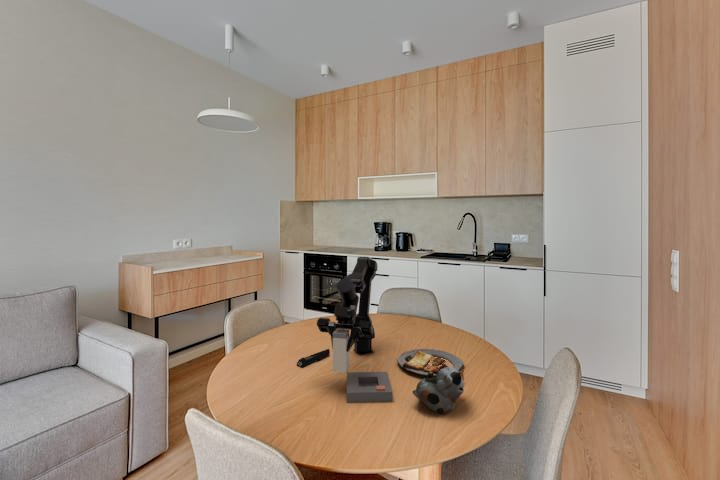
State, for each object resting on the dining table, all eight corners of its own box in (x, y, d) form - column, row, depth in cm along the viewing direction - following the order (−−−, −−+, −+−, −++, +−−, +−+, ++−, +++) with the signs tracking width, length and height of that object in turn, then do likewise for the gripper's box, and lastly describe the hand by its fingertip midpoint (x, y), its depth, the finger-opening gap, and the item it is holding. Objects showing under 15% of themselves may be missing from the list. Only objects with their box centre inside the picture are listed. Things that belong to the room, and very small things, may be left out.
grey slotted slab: (346, 380, 118) (346, 370, 118) (387, 380, 119) (387, 369, 118) (346, 402, 104) (346, 390, 104) (392, 401, 105) (392, 390, 104)
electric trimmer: (332, 357, 140) (332, 349, 139) (302, 369, 128) (302, 360, 128) (325, 354, 142) (325, 347, 142) (295, 366, 130) (295, 358, 130)
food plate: (449, 386, 114) (449, 376, 113) (387, 371, 126) (387, 361, 126) (469, 362, 135) (469, 353, 135) (414, 350, 147) (414, 342, 147)
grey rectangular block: (336, 365, 114) (336, 328, 114) (349, 366, 113) (349, 329, 113) (332, 371, 110) (332, 333, 109) (346, 372, 109) (345, 334, 108)
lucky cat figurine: (423, 388, 113) (444, 351, 112) (454, 413, 106) (477, 375, 105) (405, 394, 100) (428, 353, 100) (439, 423, 94) (464, 380, 93)
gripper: (318, 294, 116) (306, 337, 106) (371, 297, 112) (364, 342, 102) (325, 311, 124) (315, 352, 114) (376, 314, 120) (369, 357, 110)
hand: (340, 350), depth 110 cm, fingers closed on grey rectangular block, 4 cm apart
